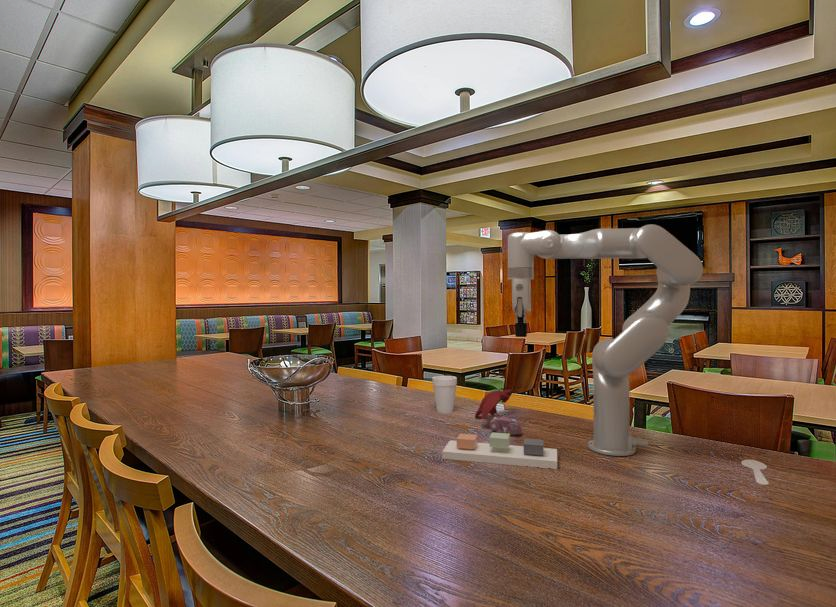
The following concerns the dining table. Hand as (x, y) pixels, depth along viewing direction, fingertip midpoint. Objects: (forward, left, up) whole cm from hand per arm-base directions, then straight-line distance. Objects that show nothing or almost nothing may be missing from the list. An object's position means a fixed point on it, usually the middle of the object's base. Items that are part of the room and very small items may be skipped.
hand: (521, 336), depth 137 cm
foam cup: (+31, -33, -32) cm, 56 cm away
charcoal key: (-4, +13, -30) cm, 33 cm away
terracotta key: (+14, +13, -30) cm, 35 cm away
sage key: (+5, +13, -29) cm, 32 cm away
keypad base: (+5, +13, -32) cm, 35 cm away
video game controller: (+6, -9, -32) cm, 34 cm away
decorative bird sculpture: (+12, -26, -32) cm, 43 cm away
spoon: (-58, +7, -33) cm, 67 cm away
